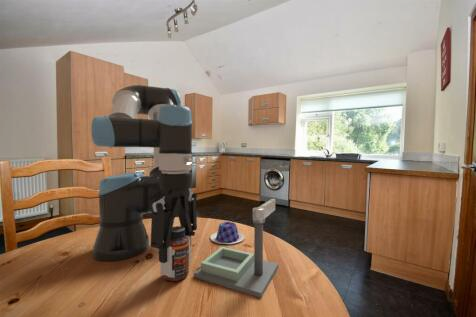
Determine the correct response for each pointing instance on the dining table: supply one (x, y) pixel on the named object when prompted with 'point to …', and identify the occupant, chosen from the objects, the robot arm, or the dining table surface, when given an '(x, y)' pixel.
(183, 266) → the supplement bottle
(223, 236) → the pudding
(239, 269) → the socket base
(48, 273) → the dining table surface
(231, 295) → the dining table surface
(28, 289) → the dining table surface
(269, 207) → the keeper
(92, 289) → the dining table surface
